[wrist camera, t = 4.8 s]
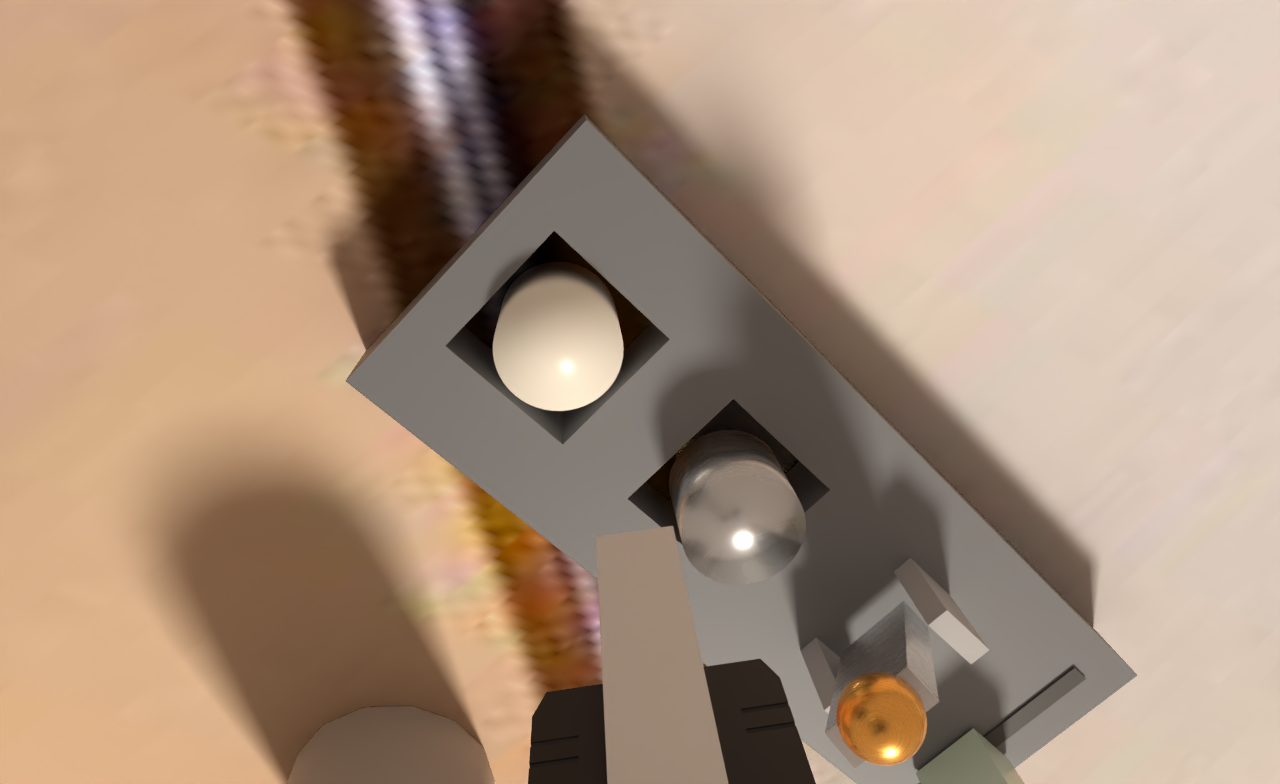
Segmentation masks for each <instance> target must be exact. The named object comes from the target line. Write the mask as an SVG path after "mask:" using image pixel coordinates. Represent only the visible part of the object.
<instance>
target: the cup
mask: <svg viewBox="0 0 1280 784" xmlns="http://www.w3.org/2000/svg"><path fill="white" fill-rule="evenodd" d="M494 781H495V780H494V777H493V774H492V771H491V768H490V765H489V762H488V759H487V756H486V753H485V750H484V747H483V746H482V745H481V744H479V743H478V742H477V741H476V740H475V739H474V738H473V737H472V736H471V735H470V734H468V733H467V732H466V731H465V730H464V729H463V728H462V727H461V726H460V725H459V724H457V723H456V722H455V721H454V720H452V719H449V718H446V717H443V716H440V715H437V714H434V713H431V712H428V711H425V710H422V709H419V708H416V707H413V706H387V707H364V708H361V709H359V710H357V711H354V712H352V713H350V714H347V715H345V716H342V717H340V718H338V719H335V720H333V721H331V722H328V723H326V724H324V725H323V726H322V727H321V728H320V729H319V730H318V732H317V733H316V734H315V735H314V736H313V737H312V738H311V740H310V741H309V742H308V743H307V744H306V745H305V746H304V747H303V749H302V750H301V751H300V752H299V753H298V755H297V758H296V761H295V763H294V766H293V769H292V771H291V774H290V776H289V779H288V782H287V784H494Z"/></svg>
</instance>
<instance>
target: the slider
mask: <svg viewBox="0 0 1280 784" xmlns="http://www.w3.org/2000/svg"><path fill="white" fill-rule="evenodd" d="M916 775H917V777H918V779H919V781H920V783H921V784H1024V783H1023V781H1022V779H1021V778H1020V776H1019V775H1018V773H1017V772H1016V770H1015V768H1014V767H1013V765H1012V764H1011V762H1010V761H1009V759H1008V758H1007V757H1006V756H1005V755H1004V754H1002V753H1001V752H1000V751H999V750H998V749H997V748H996V747H994V746H993V745H992V744H991V743H990V742H989V741H988V740H986V739H985V738H984V737H983V736H982V735H981V734H980V733H978V732H977V731H976V730H975V729H974V728H973V729H972V730H970V731H969V732H968V733H966V734H965V735H964V736H963V737H961V738H960V739H959V740H957V741H956V742H955V743H954V744H952V745H951V746H950V747H948V748H947V749H946V750H945V751H943V752H942V753H941V754H939V755H938V756H937V757H936V758H934V759H933V760H932V761H930V762H929V763H928V764H927V765H925V766H924V767H923V768H921V769H920V770H919V771H918V772H916Z"/></svg>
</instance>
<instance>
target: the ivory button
mask: <svg viewBox="0 0 1280 784" xmlns="http://www.w3.org/2000/svg"><path fill="white" fill-rule="evenodd" d="M623 350H624V348H623V339H622V334H621V329H620V325H619V320H618V315H617V311H616V306H615V302H614V299H613V297H612V295H611V293H610V291H609V289H608V288H607V286H606V285H605V283H604V282H603V281H602V280H601V279H600V278H599V277H598V276H596V275H595V274H594V273H593V272H591V271H589V270H588V269H586V268H584V267H582V266H579V265H576V264H573V263H568V262H548V263H544V264H540V265H537V266H535V267H532V268H531V269H529V270H527V271H525V272H524V273H523V274H521V275H520V276H519V277H518V278H517V279H516V280H515V281H514V282H513V283H512V284H511V286H510V287H509V289H508V291H507V292H506V295H505V297H504V299H503V303H502V306H501V310H500V314H499V318H498V322H497V326H496V330H495V334H494V340H493V357H494V363H495V366H496V369H497V372H498V374H499V376H500V378H501V379H502V381H503V383H504V384H505V385H506V387H507V388H508V389H509V390H510V391H511V392H512V393H513V394H514V395H515V396H517V397H518V398H519V399H521V400H522V401H524V402H526V403H527V404H529V405H532V406H534V407H537V408H541V409H544V410H551V411H566V410H572V409H577V408H580V407H583V406H585V405H587V404H589V403H591V402H593V401H595V400H596V399H598V398H599V397H600V396H602V395H603V394H604V393H605V392H606V391H607V390H608V389H609V388H610V386H611V385H612V384H613V382H614V381H615V379H616V377H617V375H618V373H619V371H620V368H621V365H622V360H623Z"/></svg>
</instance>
